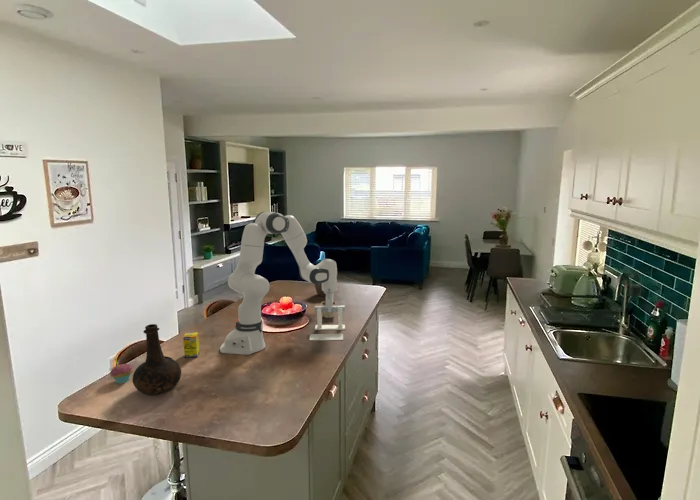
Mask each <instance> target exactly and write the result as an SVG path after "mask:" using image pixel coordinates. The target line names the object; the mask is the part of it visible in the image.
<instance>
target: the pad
mask: <svg viewBox="0 0 700 500" xmlns="http://www.w3.org/2000/svg"><path fill="white" fill-rule="evenodd" d="M309 341H344V334H343V333H310V336H309Z"/></svg>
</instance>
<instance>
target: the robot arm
mask: <svg viewBox="0 0 700 500" xmlns="http://www.w3.org/2000/svg"><path fill="white" fill-rule="evenodd" d="M269 234H270V235H279V234H281V235H282V237H283V239H284V242H285V243H286V244H287V246H288V248H289V250H290V251H291V253H292V255H293V257H294V260H295V262H296V264H297V266H298V271H299V272H298V274H299V276H300V278H301V279H302V280H304V281H307V282H309V283H311V284H313V285H314V284H320V283H322V291H324V293H325V294H326V296H325V301H326V308H328V312H331V308H332V306H333V301H334V294H335V293H336V292H337V291H338V279H337V277H338V267H337V266H338V265H337V262H336V261H335V260H334V259H331V258H323V259H322V260H321V261H320V262H319V263H316V265H314V263H311V262H310V260H309V259H308V257H307V254H306V253H305V247H306V245H307V244H308V239H307V235H306V232H305V231H304V229H303V227H302V226H301V224H300V222H298V220H297V218H296V217H295V216H293V215H289V214H288V215H283V214H282V213H279V212H274V211H262V212H260V213H258V214H256V216H255V218H254V219H253V222H251V223H248V224H246V225H245V226H244V229H243V232H242V236H241V244H240V250H239V257H238V262H237V265H236V267H235V269H234V271H233V272H232V273H230V274H229V276H228V277H227V285H228V287H229V288H230V289H231V290H232V291H234V292H236V293H239V294H242V296H243V297H242V298H243V300H242V303H240V304H239V305H238V308H237V311H238V312H237V313H238V319H236V321H235V323H234V329H233V330H232V331H230V332H229V333H228V334H227V335H226V336H225V339H224V342H223V343H222V344H221V346H220V347H219V352H220V353H222V354H232V355H243V356H244V355H245V356H249V355H251V354H254V353H256V352H260V351H262V350H264V349H265V348H266V343H265V340H264V335H263V329H264V326H263V319H262V303H263V298H264V297H265V296H267V294H268V293H269V290H270V282H269V280H268V279H267V278H265V277H263V276H261V275H259V274H256V269H257V267H258V266H259V265H261V264H262V262H263V255H264V247H265V238H266V237H267V235H269Z"/></svg>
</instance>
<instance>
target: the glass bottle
mask: <svg viewBox="0 0 700 500" xmlns="http://www.w3.org/2000/svg"><path fill="white" fill-rule="evenodd" d="M159 330H160V328H159V327H158V324H157V323H156V324H155V323H151V324H148V325H145V327H144V330H143V334H145V339H146V357H145V361H144V362H142V363H141V364H140V365H138V366H137V367H136V368H135V370H134V371H133V373H132V384H133V386H134V388H135V389H136V390H137V391H139V392H140V393H141V394H144V395H146V396H159V395H162V394H165V393H168V392H170V391H171V390H173V389H174V388H175V387H176V386H177V385H178V383H179V381H180V379H181V376H182V368H181V366H180V364H179V363H178V362H177V360H174V359H173V358H172V357H170V356H166V355H164V353H163V350H162V346H161V342H160V337H159Z"/></svg>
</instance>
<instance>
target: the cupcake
mask: <svg viewBox="0 0 700 500" xmlns="http://www.w3.org/2000/svg"><path fill="white" fill-rule="evenodd" d="M114 361H115V364H116V365H115V366H114V367H113V368H112V369H111V370H110V371H109V373H110V377H112V378H113V379H114V381H115V382H116V383H117V384H120V385H121V384H125V383H127V382H128V381H129V380H130V376H131V374H133V373H134V369H133V366H132V365H130V364H128V363H122V364H119V362H118V359H117V357H114Z"/></svg>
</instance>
